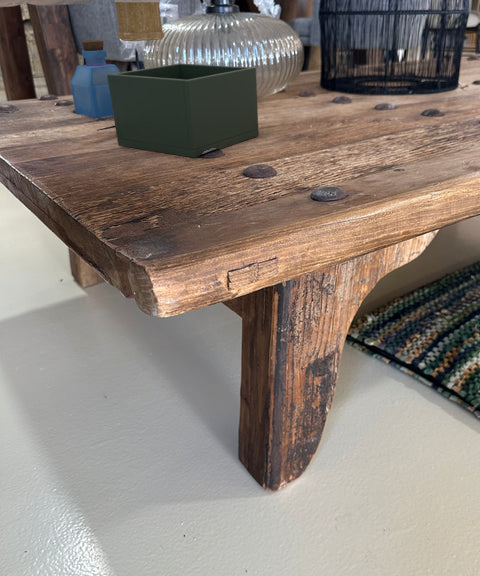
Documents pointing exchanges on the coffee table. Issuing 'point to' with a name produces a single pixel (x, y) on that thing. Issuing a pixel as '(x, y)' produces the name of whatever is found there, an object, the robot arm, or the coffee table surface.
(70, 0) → the robot arm
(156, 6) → the sprinkles bottle
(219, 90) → the square planter pot
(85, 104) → the perfume bottle
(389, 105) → the coffee table surface
